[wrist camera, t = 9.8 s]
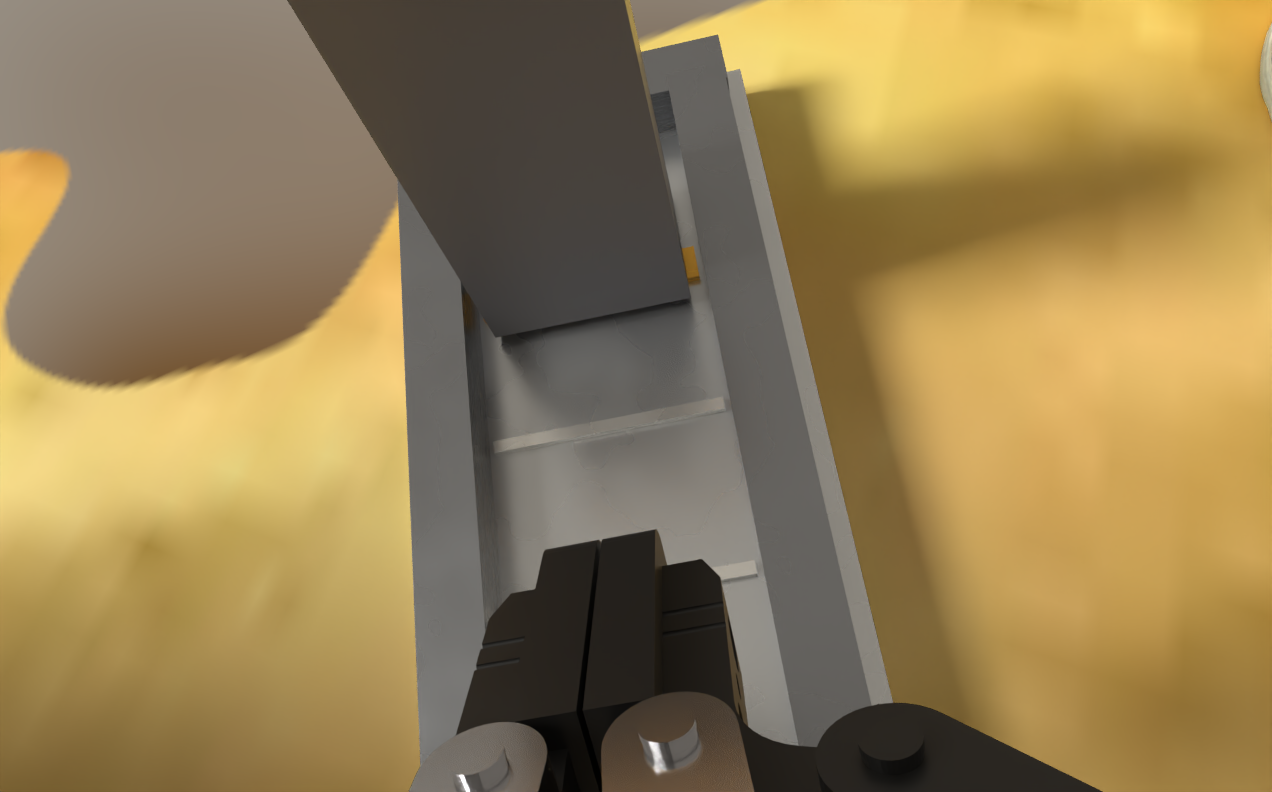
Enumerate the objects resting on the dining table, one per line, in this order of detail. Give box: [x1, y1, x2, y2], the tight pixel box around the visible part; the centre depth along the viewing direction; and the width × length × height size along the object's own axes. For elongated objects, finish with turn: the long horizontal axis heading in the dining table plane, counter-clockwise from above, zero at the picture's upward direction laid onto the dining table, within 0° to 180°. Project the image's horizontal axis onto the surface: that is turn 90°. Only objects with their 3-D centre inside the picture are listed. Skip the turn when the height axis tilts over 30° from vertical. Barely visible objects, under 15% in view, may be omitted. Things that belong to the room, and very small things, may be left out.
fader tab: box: [287, 0, 691, 338], centre depth 20 cm, size 4×5×13 cm
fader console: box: [397, 35, 893, 765], centre depth 23 cm, size 24×10×2 cm, turn 8°
